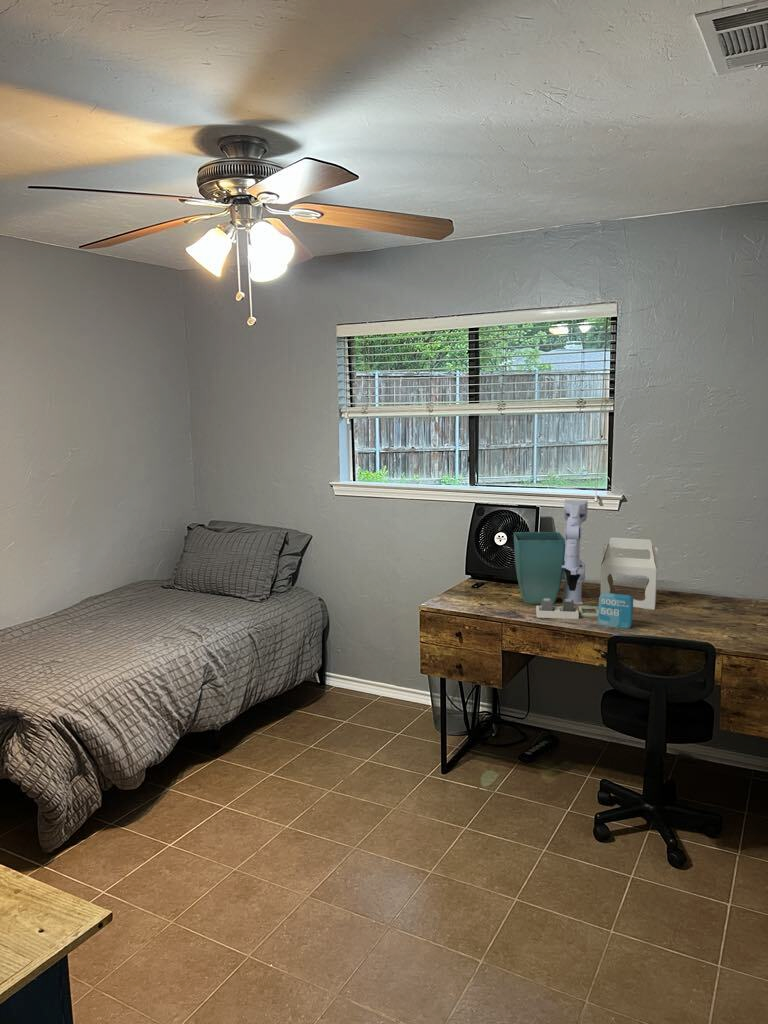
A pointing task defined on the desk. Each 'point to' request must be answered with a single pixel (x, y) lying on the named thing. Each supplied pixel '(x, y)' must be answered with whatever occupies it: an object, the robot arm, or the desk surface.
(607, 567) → the gable box
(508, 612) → the desk surface
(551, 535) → the flower pot
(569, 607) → the plug
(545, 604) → the twin plug
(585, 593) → the desk surface
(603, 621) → the data package
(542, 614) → the cream shallow box
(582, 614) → the tray
